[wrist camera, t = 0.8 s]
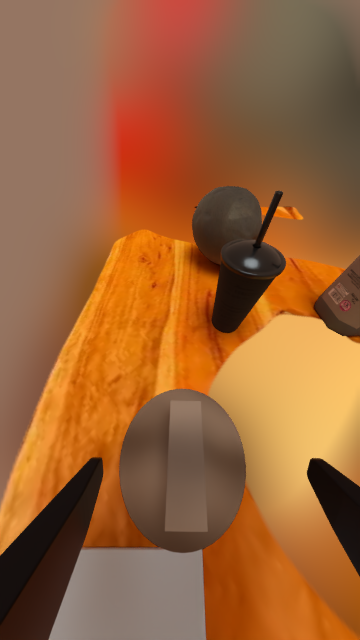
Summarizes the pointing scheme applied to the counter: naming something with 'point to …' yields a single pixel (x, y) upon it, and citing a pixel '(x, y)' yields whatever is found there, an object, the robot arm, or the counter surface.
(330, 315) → the liquor
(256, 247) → the drinking cup
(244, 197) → the dark grey round stone
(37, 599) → the robot arm
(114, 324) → the counter surface
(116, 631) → the mat
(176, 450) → the lid
